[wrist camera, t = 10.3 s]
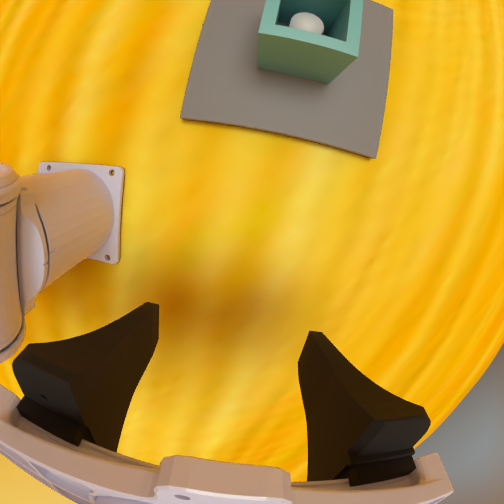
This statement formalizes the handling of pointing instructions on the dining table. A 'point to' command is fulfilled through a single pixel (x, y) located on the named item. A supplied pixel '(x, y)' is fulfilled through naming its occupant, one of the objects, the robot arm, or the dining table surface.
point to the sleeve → (310, 38)
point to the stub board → (289, 80)
